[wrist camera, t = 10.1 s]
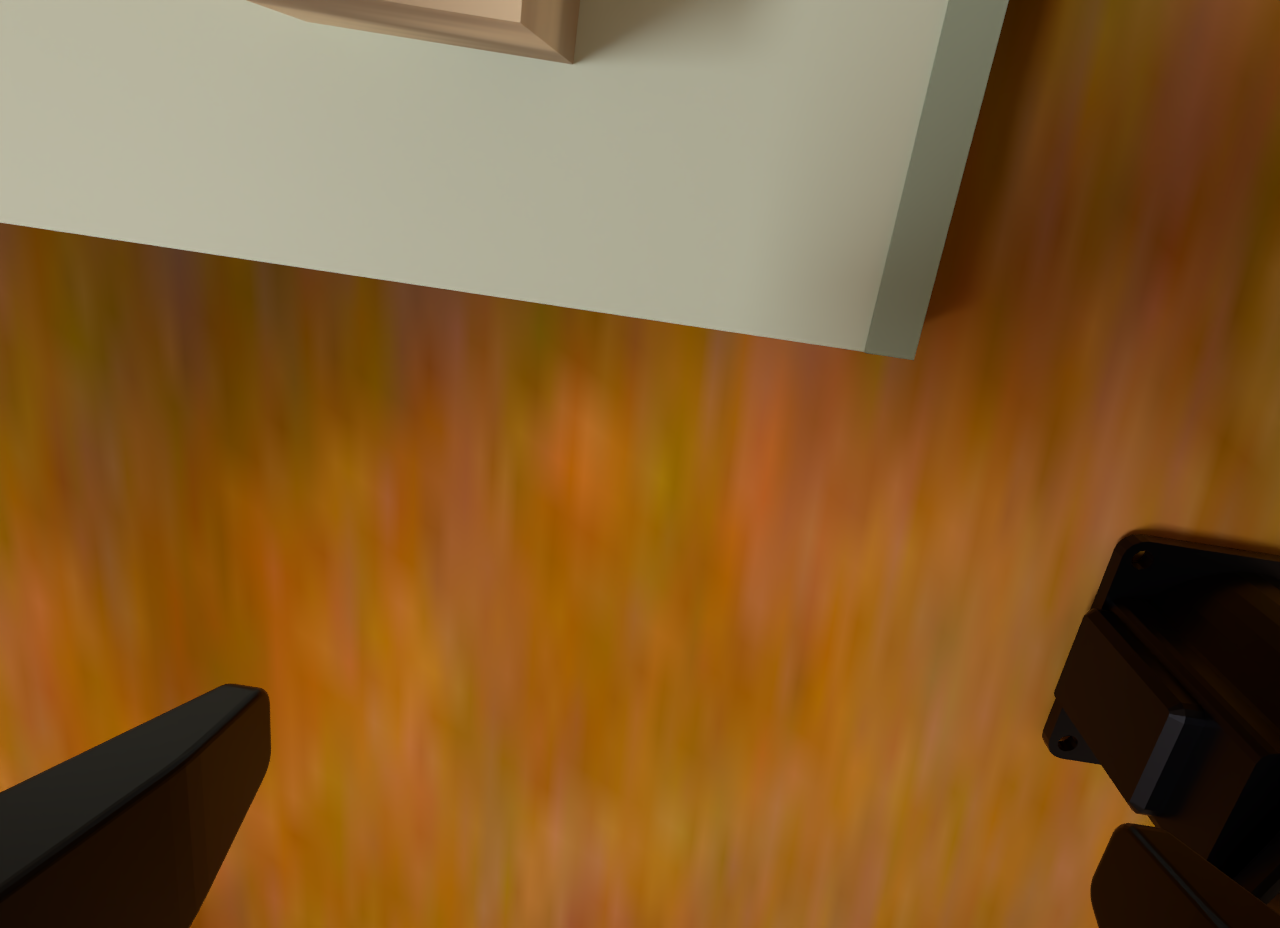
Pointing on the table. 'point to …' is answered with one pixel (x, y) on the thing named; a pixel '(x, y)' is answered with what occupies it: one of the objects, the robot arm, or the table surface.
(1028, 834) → the table surface
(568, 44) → the maple block
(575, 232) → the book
